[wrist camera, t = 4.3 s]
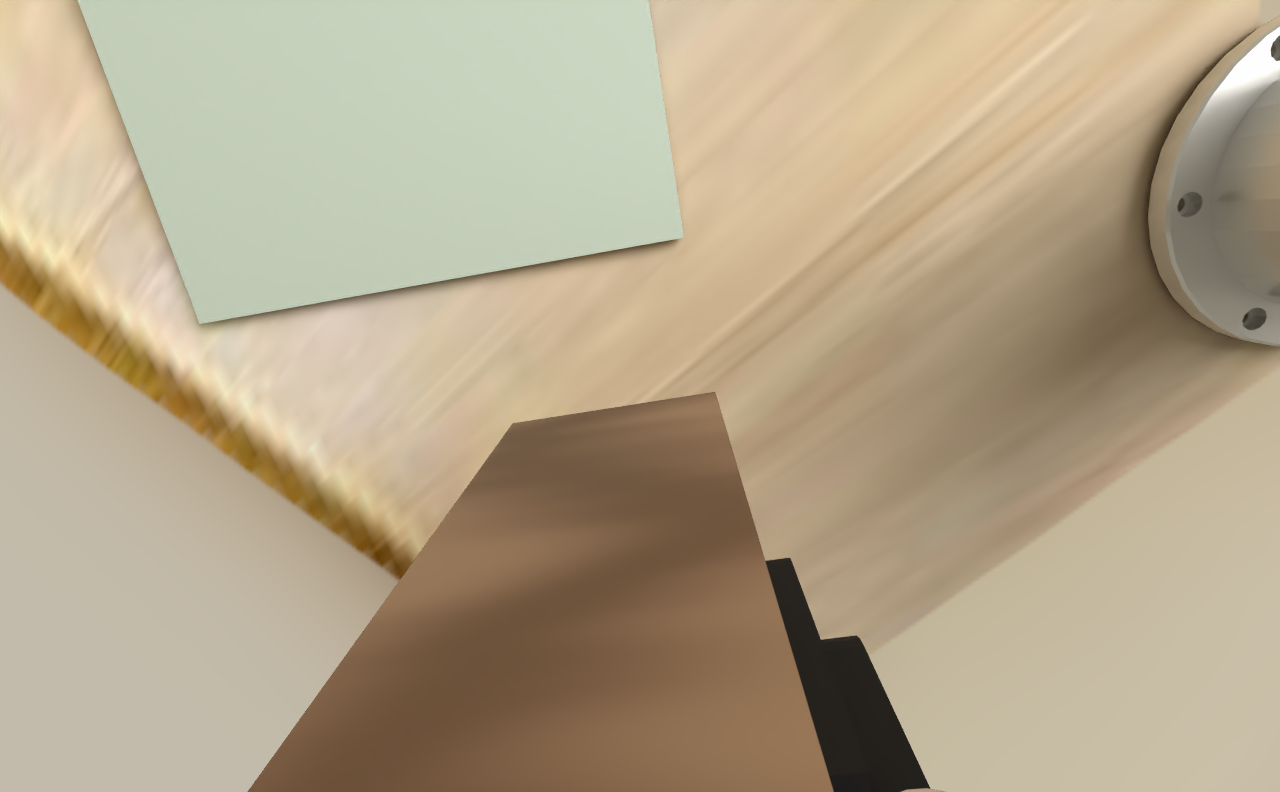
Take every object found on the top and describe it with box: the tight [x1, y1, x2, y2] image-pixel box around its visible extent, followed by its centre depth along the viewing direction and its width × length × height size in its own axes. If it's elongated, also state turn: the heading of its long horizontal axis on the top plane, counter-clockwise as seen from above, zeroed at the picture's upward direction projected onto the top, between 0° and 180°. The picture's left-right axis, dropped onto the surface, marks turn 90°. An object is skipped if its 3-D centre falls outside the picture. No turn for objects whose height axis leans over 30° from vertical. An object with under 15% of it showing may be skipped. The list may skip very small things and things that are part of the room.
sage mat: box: [78, 0, 684, 324], centre depth 22 cm, size 20×16×1 cm
